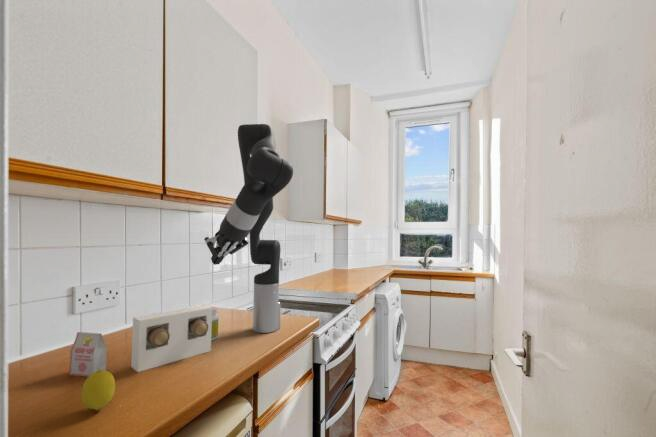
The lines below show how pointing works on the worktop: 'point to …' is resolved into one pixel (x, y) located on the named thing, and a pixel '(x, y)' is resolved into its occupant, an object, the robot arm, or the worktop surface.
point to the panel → (179, 340)
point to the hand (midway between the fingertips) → (214, 262)
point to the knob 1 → (158, 336)
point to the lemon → (98, 389)
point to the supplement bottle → (214, 325)
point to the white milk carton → (87, 354)
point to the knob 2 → (198, 327)
